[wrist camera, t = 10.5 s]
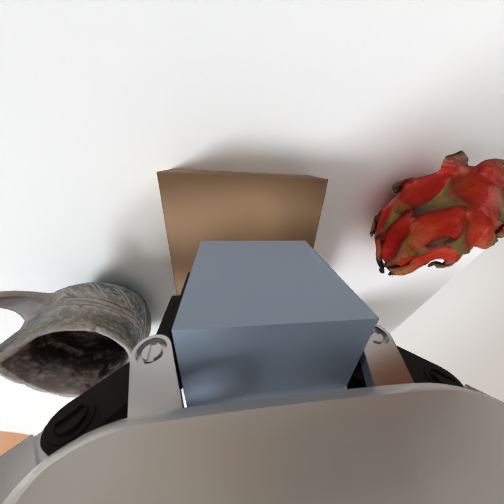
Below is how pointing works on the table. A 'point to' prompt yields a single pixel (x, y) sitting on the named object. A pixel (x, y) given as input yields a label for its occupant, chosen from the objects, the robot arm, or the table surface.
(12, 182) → the table surface
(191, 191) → the walnut block
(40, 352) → the mug
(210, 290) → the slate cube
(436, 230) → the dragon fruit
